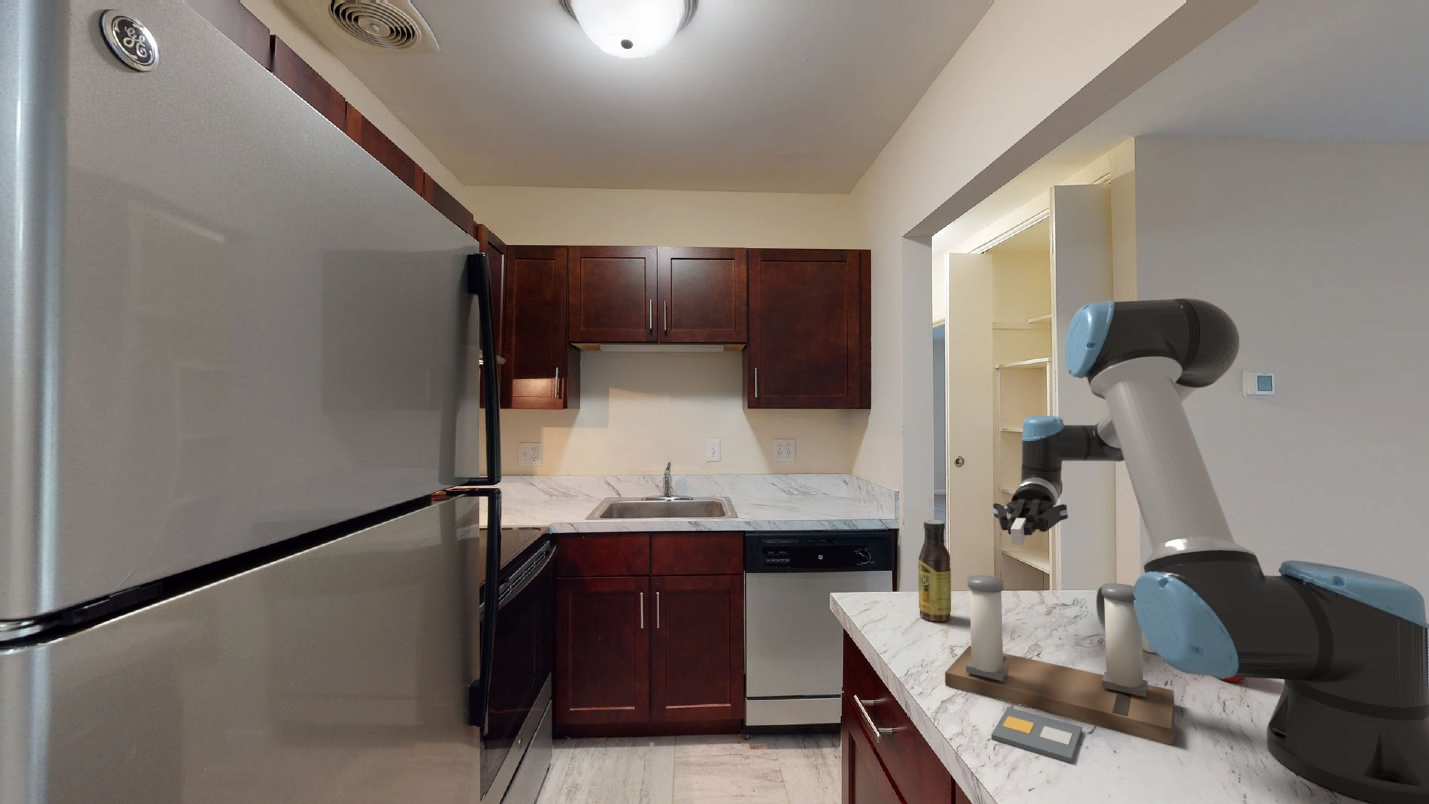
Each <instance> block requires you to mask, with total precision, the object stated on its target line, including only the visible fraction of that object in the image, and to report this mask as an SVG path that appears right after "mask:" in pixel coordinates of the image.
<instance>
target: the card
mask: <svg viewBox="0 0 1429 804" xmlns="http://www.w3.org/2000/svg"><path fill="white" fill-rule="evenodd" d="M1082 728H1083V727H1082V726H1081V725H1077V724H1074V723H1070V722H1067V721H1062V720H1058V719H1055V718H1050V717H1049V716H1048V717H1047V716H1043V715H1041V714H1036V713H1032V712H1030V711H1025V710H1021V709H1018V708H1014V707H1010V706H1007V708H1006V709H1005V711H1004V712H1003V714H1002V716H1001V718H1000V719H999V720H998V722H997V724H996V726H995V727H994V729H993V731H992V732H991V736H990V737H991V740H993V741H997V742H1000V743H1003V744H1007V745H1010V746H1013V747H1016V748H1019V749H1020V748H1021V749H1022V750H1026V751H1030V752H1033V753H1037V754H1039V755H1042V756H1046V757H1049V758H1052V759H1056V760H1059V761H1063V762H1066V763H1069V764H1072V763H1073V759H1074V756H1075V753H1076V750H1077V747H1078V744H1079V741H1080V738H1081V736H1082V731H1083V729H1082Z"/></svg>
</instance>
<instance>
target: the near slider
mask: <svg viewBox="0 0 1429 804" xmlns="http://www.w3.org/2000/svg"><path fill="white" fill-rule="evenodd" d="M1101 587H1102V595H1103V596H1104V601H1105V628H1104V630H1105V631H1104V632H1105V663H1106V664H1105V665H1106V666H1105V667H1106V668H1105V670H1106V671H1104V673H1103V674H1102V675H1103V679H1102V687H1103V688H1108V689H1112V690H1116V691H1121V692H1125V693H1129V694H1134V695H1138V696H1143V697H1147V691H1148V685H1149V681H1148V680H1146V679H1144V652H1143V650H1144V649H1143V645H1142V629H1141V627H1140V625H1139V622H1138V619H1137V616H1136V613H1135V608H1134V600H1136V599H1135V596H1134V595H1133V590H1134V585H1131V584H1124V583H1115V582H1113V583H1112V582H1109V583H1103V584H1101Z"/></svg>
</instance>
